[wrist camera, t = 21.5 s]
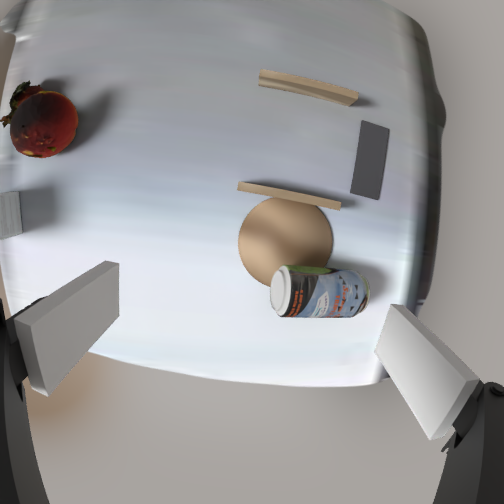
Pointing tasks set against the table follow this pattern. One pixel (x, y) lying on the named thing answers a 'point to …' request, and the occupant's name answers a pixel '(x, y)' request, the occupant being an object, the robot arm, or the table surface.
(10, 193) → the supplement box
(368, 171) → the pad
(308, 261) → the coaster
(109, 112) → the table surface
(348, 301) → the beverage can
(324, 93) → the channel
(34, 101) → the dark red rounded pieces
